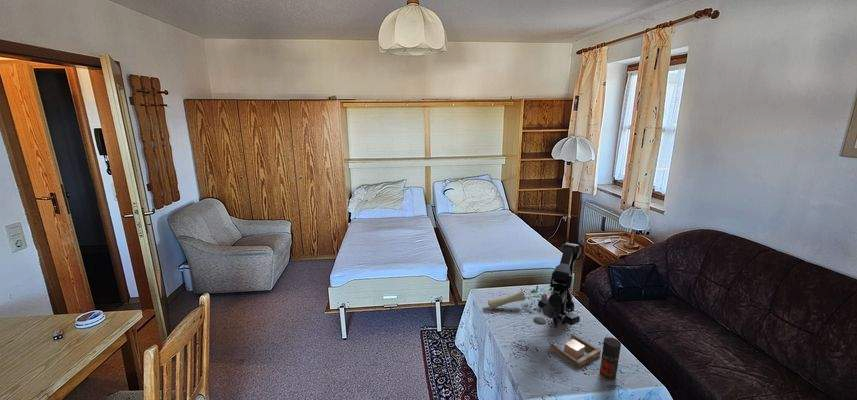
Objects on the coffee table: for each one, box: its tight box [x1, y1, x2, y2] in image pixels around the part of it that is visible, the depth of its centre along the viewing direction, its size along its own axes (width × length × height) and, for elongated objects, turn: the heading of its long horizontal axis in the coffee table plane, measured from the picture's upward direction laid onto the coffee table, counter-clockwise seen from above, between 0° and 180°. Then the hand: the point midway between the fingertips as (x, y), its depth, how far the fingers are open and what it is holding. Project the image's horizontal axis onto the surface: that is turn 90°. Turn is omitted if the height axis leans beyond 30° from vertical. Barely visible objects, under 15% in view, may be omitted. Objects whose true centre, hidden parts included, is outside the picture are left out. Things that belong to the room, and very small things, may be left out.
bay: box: [550, 333, 602, 369], centre depth 155 cm, size 15×14×2 cm
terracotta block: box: [563, 339, 586, 360], centre depth 155 cm, size 6×6×4 cm
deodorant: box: [599, 336, 622, 381], centre depth 141 cm, size 6×6×15 cm
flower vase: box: [487, 284, 553, 310], centre depth 190 cm, size 12×12×35 cm
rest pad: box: [533, 316, 547, 325], centre depth 178 cm, size 6×6×1 cm
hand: (556, 327), depth 162 cm, fingers closed
